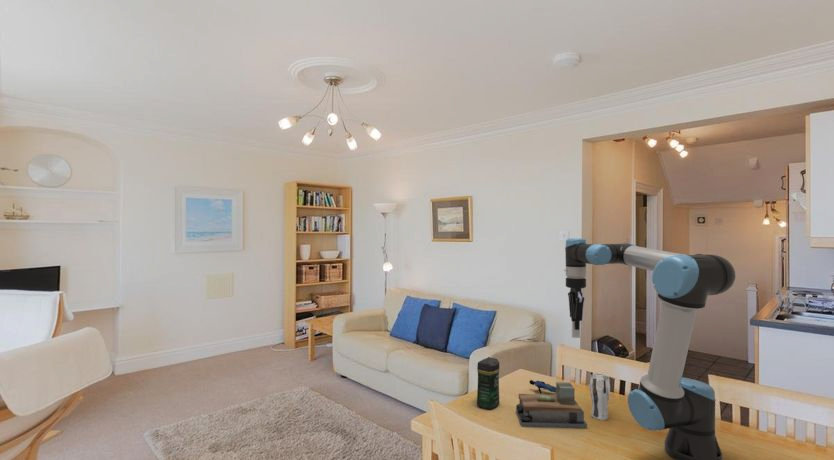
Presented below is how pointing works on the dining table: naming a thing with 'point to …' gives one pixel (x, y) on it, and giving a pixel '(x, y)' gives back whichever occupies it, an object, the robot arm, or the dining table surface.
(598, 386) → the beer glass
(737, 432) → the dining table surface
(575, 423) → the grey base with fittings
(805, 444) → the dining table surface
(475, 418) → the dining table surface
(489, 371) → the coffee jar
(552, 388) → the person figurine
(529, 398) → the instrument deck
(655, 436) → the dining table surface
